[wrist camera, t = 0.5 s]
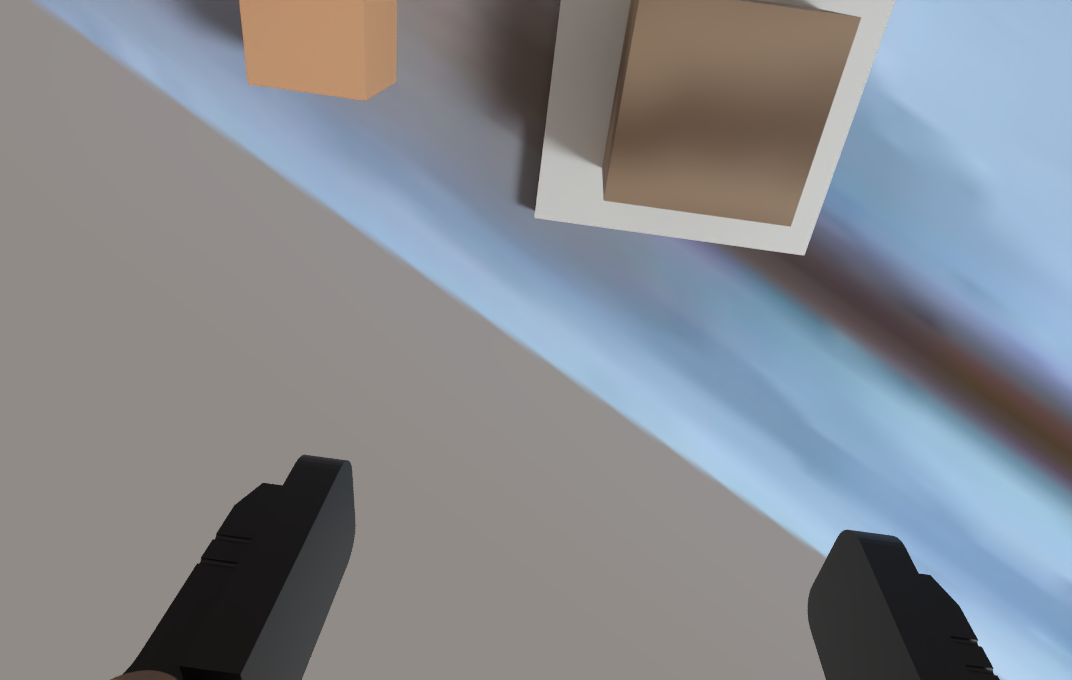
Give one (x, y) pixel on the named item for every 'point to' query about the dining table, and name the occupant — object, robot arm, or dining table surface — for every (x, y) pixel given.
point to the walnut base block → (722, 105)
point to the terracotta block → (321, 45)
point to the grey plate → (585, 111)
